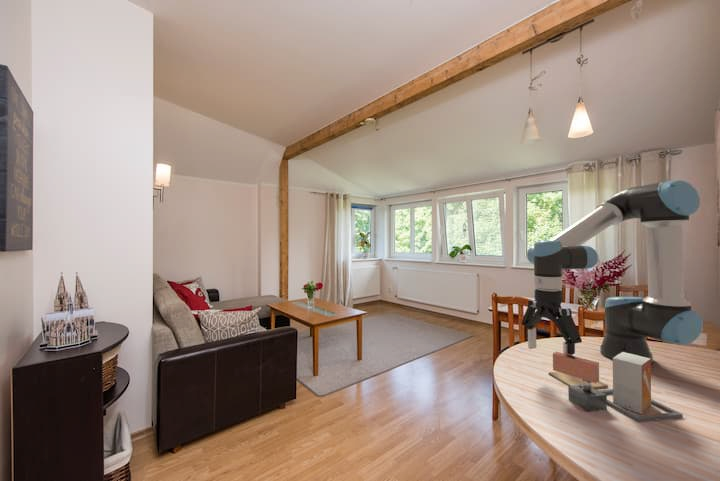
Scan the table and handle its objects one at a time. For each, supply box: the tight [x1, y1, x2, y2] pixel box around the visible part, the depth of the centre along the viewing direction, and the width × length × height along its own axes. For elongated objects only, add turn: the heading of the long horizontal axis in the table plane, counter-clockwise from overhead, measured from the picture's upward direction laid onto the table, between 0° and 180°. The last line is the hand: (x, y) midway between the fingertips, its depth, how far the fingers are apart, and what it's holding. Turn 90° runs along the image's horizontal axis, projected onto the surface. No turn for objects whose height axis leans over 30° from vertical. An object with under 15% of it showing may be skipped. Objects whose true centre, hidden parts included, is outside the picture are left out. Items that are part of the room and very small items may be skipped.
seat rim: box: [597, 388, 684, 423], centre depth 83 cm, size 13×14×1 cm
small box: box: [612, 352, 652, 415], centre depth 83 cm, size 8×6×13 cm
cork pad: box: [548, 371, 609, 389], centre depth 97 cm, size 11×11×1 cm
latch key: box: [552, 351, 600, 391], centre depth 86 cm, size 2×10×8 cm, turn 35°
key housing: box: [567, 385, 608, 413], centre depth 83 cm, size 6×6×4 cm
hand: (549, 355), depth 96 cm, fingers open, 13 cm apart
